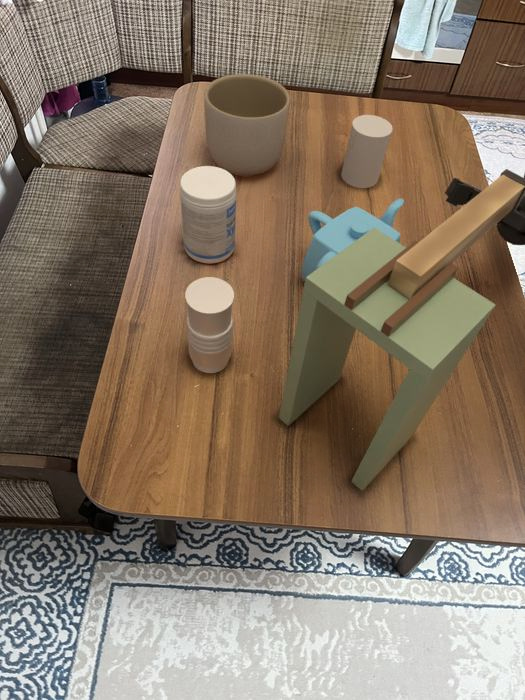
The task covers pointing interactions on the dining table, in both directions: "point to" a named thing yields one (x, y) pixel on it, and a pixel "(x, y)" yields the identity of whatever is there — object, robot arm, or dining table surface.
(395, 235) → the teapot
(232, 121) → the planter
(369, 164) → the white cylinder
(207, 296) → the candle
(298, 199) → the dining table surface
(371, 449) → the shelf stand
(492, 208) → the slide bar
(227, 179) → the supplement tub
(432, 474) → the dining table surface
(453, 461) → the dining table surface
